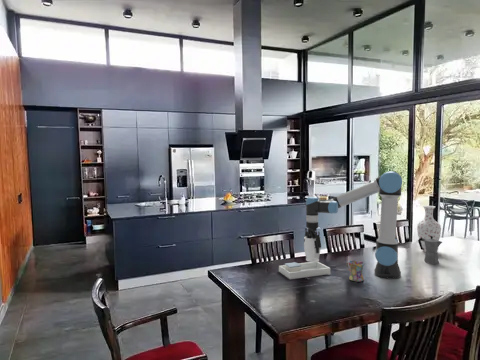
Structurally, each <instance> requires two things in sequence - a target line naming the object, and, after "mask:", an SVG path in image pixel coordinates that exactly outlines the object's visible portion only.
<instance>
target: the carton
mask: <svg viewBox="0 0 480 360" xmlns="http://www.w3.org/2000/svg"><path fill="white" fill-rule="evenodd" d="M284 265H285V264H284ZM285 269H286V270H288V271H289V272H298V271H300V267H293V268H289V267H288V266H286V265H285Z"/></svg>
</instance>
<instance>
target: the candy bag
mask: <svg viewBox="0 0 480 360" xmlns="http://www.w3.org/2000/svg"><path fill="white" fill-rule="evenodd" d="M364 266H365V262H364V261H361V260H356V259H355V260H348V262H347V263H346V267H347V270H348V271H349V272H350V274H349V276H348V279H349V280H350V281H352V282H363V281H364V280H365V279H364V276H363V270H364Z"/></svg>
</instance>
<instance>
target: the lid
mask: <svg viewBox="0 0 480 360" xmlns="http://www.w3.org/2000/svg"><path fill="white" fill-rule="evenodd" d="M284 265H286V266H288V267H289V268H293V267H301V265H299V264H298V262H295V261H293V262H287V263H284Z"/></svg>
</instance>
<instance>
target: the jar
mask: <svg viewBox="0 0 480 360" xmlns="http://www.w3.org/2000/svg"><path fill="white" fill-rule="evenodd" d="M304 239H305V242H304V241H303V249H304V255H305V261H307V262H317V261H318V262H319V261H320V258H315V243H314V241H316V239H313V238H312V237H311V239H310V238H307V236H305V235H304V236H303V240H304ZM320 240H321V236H320ZM319 246H320V245H319ZM321 248H322V247H321ZM321 248H319V256H320V253H321Z"/></svg>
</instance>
